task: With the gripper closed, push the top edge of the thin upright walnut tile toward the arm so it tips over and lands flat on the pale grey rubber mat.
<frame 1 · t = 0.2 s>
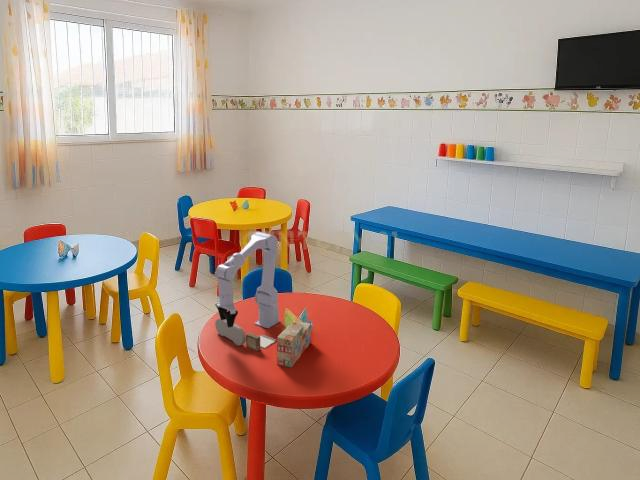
hand: (226, 323, 194), 10 cm above the table, fingers open, 7 cm apart
game controller: (230, 340, 201), on the table
mat: (263, 342, 199), on the table
walnut tile: (253, 348, 194), on the table
stack of blocks: (294, 353, 191), on the table
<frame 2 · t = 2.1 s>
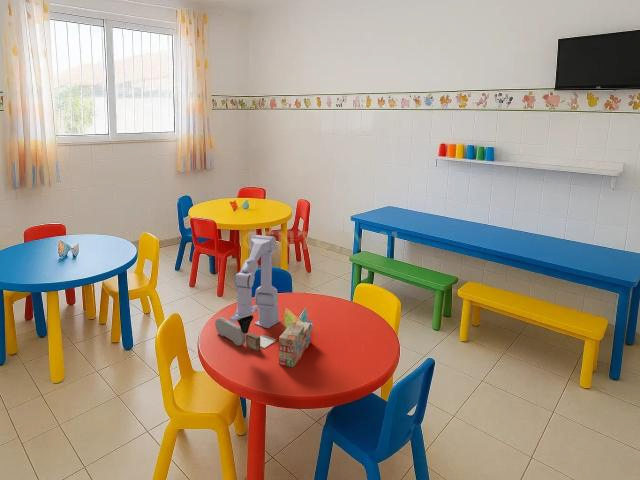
hand: (244, 332, 187), 9 cm above the table, fingers closed
nothing on the table moved.
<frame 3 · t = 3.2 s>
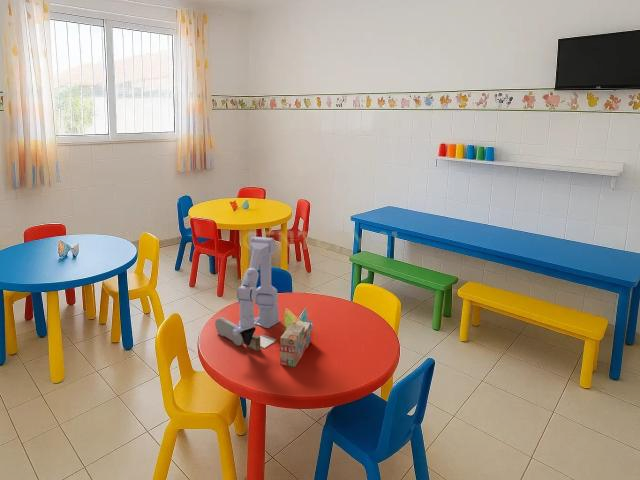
hand: (247, 344, 190), 4 cm above the table, fingers closed
nothing on the table moved.
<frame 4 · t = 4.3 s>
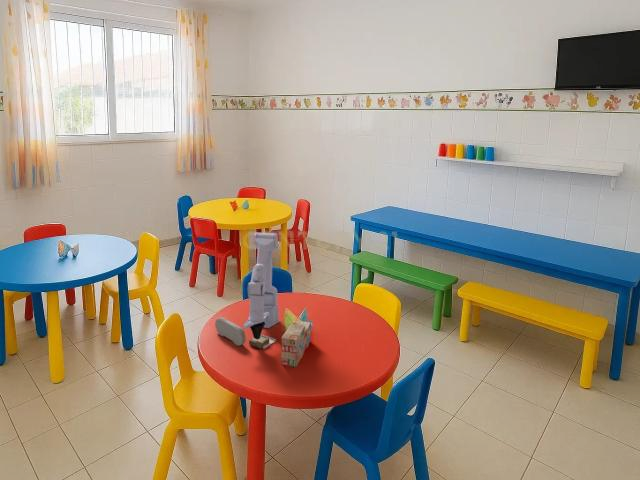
hand: (256, 338, 195), 4 cm above the table, fingers closed
walnut tile: (254, 344, 194), point 1 cm above the table, tilted 90°, touching mat
everything else where it was.
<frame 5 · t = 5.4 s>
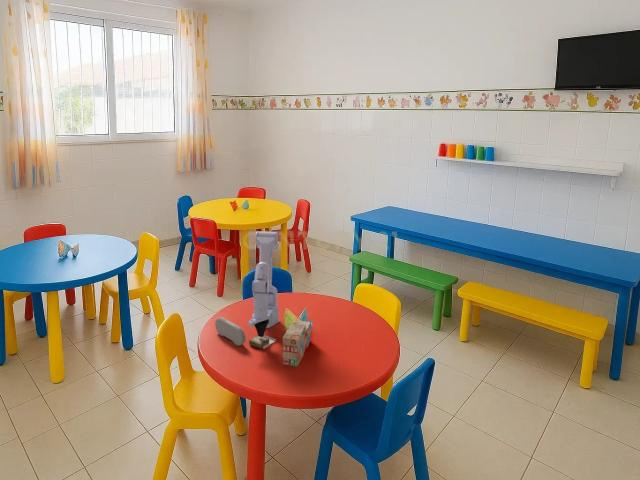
hand: (260, 335, 197), 4 cm above the table, fingers closed
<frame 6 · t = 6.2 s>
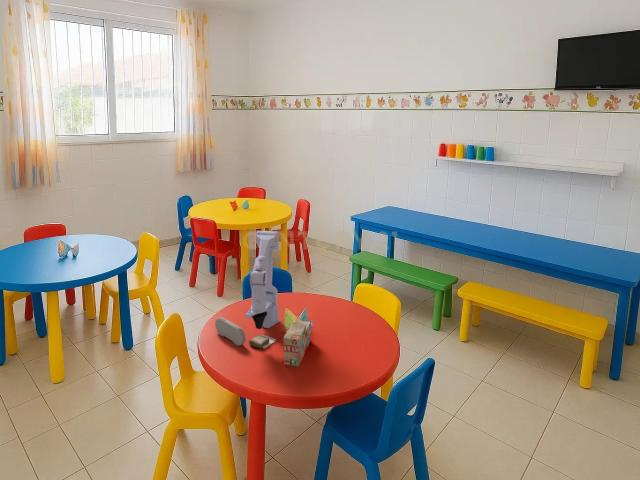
hand: (258, 328, 195), 8 cm above the table, fingers closed
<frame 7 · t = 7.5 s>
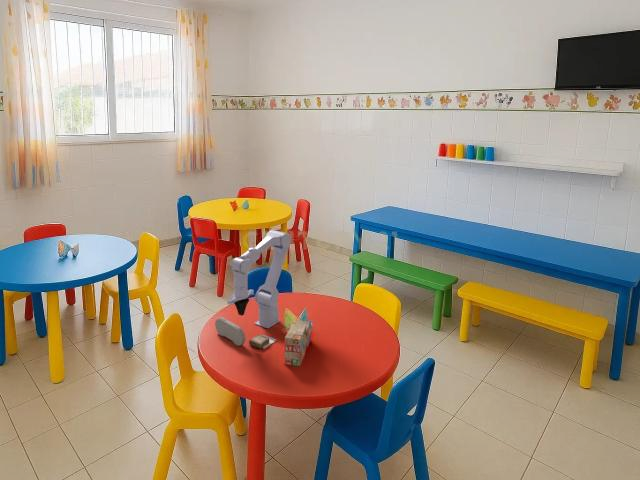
hand: (241, 314, 201), 10 cm above the table, fingers closed
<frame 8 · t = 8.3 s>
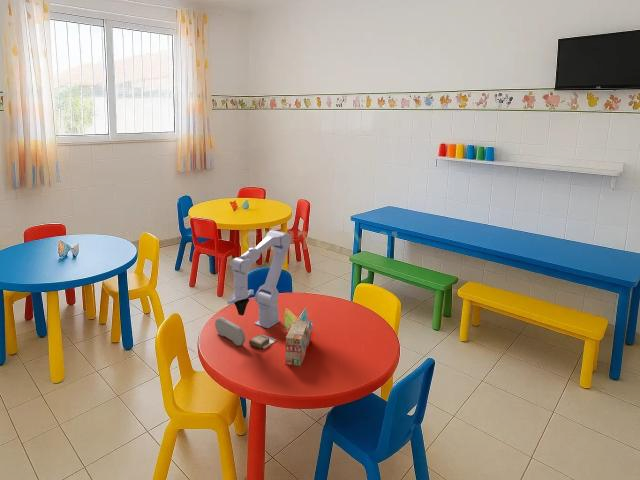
hand: (241, 314, 201), 10 cm above the table, fingers closed
at the end: walnut tile tilted 90°; walnut tile inside the target area (4.1 cm from its centre), point 1.4 cm above the table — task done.
